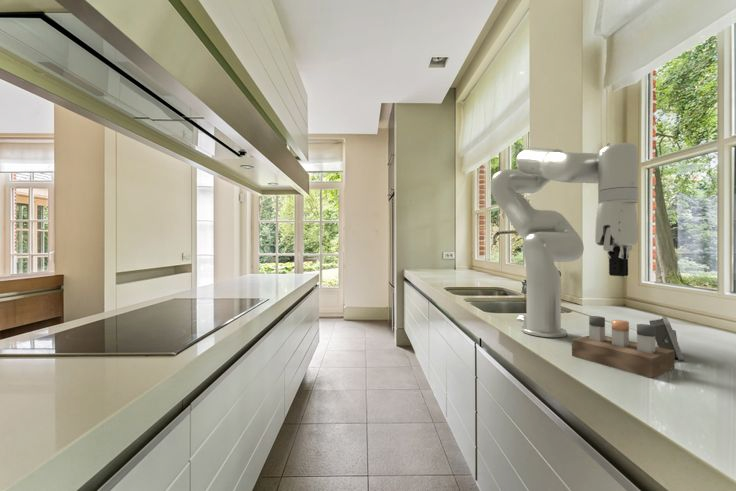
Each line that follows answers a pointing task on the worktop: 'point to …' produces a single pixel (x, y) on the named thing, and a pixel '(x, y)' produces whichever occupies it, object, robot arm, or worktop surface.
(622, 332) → the plug middle
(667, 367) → the wooden socket board
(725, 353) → the worktop surface
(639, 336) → the plug right
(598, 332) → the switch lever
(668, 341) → the electrical switch
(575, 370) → the worktop surface
